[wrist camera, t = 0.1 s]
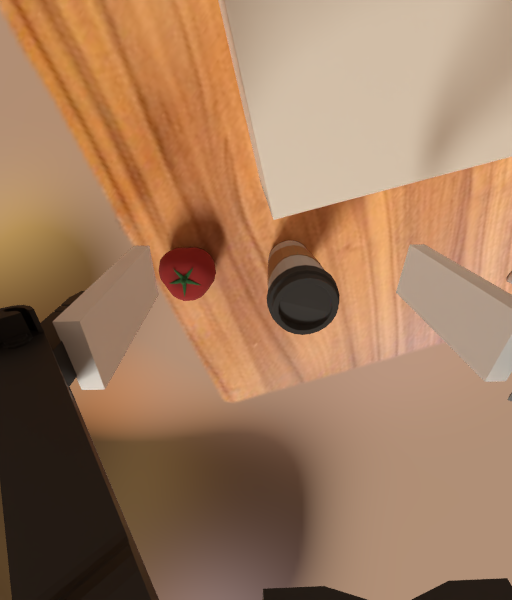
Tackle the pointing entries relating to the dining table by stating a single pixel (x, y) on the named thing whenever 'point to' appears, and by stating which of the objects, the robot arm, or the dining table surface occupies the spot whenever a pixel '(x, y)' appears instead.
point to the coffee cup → (300, 290)
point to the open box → (369, 92)
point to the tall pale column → (509, 278)
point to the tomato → (187, 272)
